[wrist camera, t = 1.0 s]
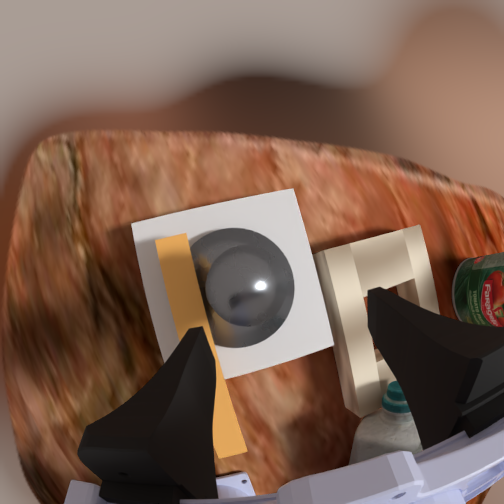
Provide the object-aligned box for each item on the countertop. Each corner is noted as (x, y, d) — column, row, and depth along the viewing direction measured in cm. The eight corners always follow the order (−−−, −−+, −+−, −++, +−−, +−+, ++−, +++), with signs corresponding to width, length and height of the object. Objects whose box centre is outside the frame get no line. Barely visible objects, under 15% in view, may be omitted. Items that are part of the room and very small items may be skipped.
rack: (427, 364, 26) (446, 369, 23) (344, 406, 24) (360, 417, 21) (401, 230, 27) (419, 224, 24) (310, 255, 25) (323, 250, 22)
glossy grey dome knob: (291, 324, 24) (339, 338, 15) (193, 350, 23) (189, 383, 14) (266, 228, 25) (301, 192, 16) (168, 250, 23) (149, 225, 14)
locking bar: (245, 443, 18) (247, 451, 17) (217, 450, 18) (218, 458, 17) (187, 236, 20) (186, 232, 19) (157, 243, 19) (154, 240, 18)
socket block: (319, 339, 24) (334, 345, 21) (176, 379, 22) (173, 391, 19) (282, 200, 25) (293, 188, 22) (139, 232, 23) (131, 223, 20)
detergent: (398, 526, 22) (441, 357, 24) (422, 556, 15) (490, 375, 17) (300, 552, 21) (317, 380, 23) (313, 591, 14) (348, 418, 16)
